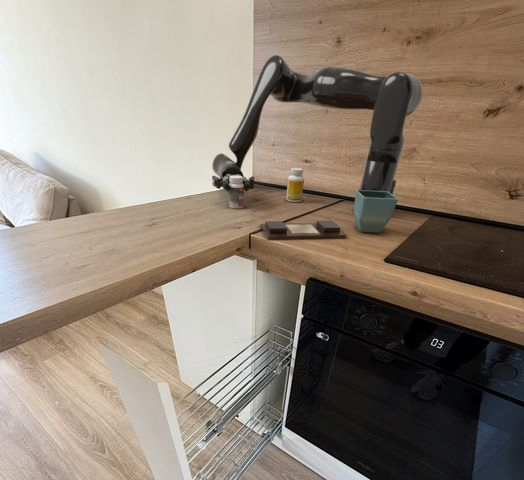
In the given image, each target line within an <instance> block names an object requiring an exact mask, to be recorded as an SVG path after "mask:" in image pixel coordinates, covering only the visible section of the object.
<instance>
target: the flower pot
mask: <svg viewBox="0 0 524 480" xmlns="http://www.w3.org/2000/svg"><path fill="white" fill-rule="evenodd" d="M354 197H355V198H354V206H353V215H354V216H353V217H354V222H355V225H356V227H357V229H358V230H359V232H361V233H375V234H379V233H380V232H381V231H382V230H384V229H385V228H386V226H387V224H388V223H389V222H390V220H391V218H392V215H393V213H394V211H395V209H396V207H397V203H398V201H399V197H396V196H395V195H394V194H393V195H392V194H391V193H390V192H385V191H366V190H359V189H356V190H355V196H354Z"/></svg>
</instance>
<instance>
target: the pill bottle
mask: <svg viewBox="0 0 524 480" xmlns="http://www.w3.org/2000/svg"><path fill="white" fill-rule="evenodd" d="M229 181H230V183H229V191H228V207H229V208H230V209H235V210H236V209H237V210H238V209H243V208H244V207H245V190H244V184H242V182H243V177H242V176H230V177H229Z"/></svg>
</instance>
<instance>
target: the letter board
mask: <svg viewBox="0 0 524 480" xmlns="http://www.w3.org/2000/svg"><path fill="white" fill-rule="evenodd" d="M260 228H261V230H262V232H263V234H264V236H265V238H267V240H315V239H317V240H318V239H319V240H321V239H346V235H347V234H346V233H344V232H343V231H341V229H342V228H341V226H339V225H338V224H337V223H336V222H335V221H334V220H316V222H295V223H294V222H291V223H284V222H283V221H282V220H266V221H265V222H264V223H260Z"/></svg>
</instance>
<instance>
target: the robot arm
mask: <svg viewBox="0 0 524 480" xmlns="http://www.w3.org/2000/svg"><path fill="white" fill-rule="evenodd" d="M270 96H271V97H272V98H273V99H274V100H275V101H277V102H279V103H301V104H307V105H311V106H312V105H313V106H317V107H322V108H328V109H333V110H345V111H346V110H349V111H350V110H355V111H356V110H369V111H372V116H371V121H370V127H369V145H368V149H367V154H366V157H365V162H364V167H363V171H362V176H361V181H360V185H359V189H358V190H366V191H385V192H390V193H391V194H392V195H394V191H395V187H396V184H397V180H395V177H396V173H397V170H398V167H399V162H400V159H401V156H402V152H403V148H404V145H405V140H406V139H405V135H404V126H405V122H406V118H407V117H408V116H409V115H411V114H412V113H414V112H415V111H416V110H417V109H418V107H419V106H420V104H421V102H422V99H423V96H424V88H423V84H422V82H421V81H420V79H419V78H418V77H417V76H416V75H415V74H412V73H408V72H405V71H395V72H392V73H390V74H389V75H387V76H381V75H374V74H371V73H368V72H364V71H361V70H357V69H353V68H347V67H342V66H324V67H322V68H319V69H318V70H316V71H315V72H313V73H312V74H306V73H305V74H304V73H299V72H296V71H295V70H293V69H292V68H291V67H290V66H289V64H288V63H287V61H286V60H284V58H283V57H282V56H280V54H279V55H278V54H273V55H272V56H270V57H269V58H268V59H267V60H266V62H264V64H263V66H262V68H261V70H260V73H259V75H258V77H257V80H256V82H255V85H254V88H253V90H252V93H251V96H250V97H249V102H248V104H247V107H246V109H245V112H244V114H243V116H242V118H241V120H240V123H239V124H238V126H237V128H236V130H235V131H234V134H233V135H232V137H231V139H230V141H229V142H228V149H229V150H230V152H232V154H233V155H234V156H235V161H234V160H233V159H231V158H230V157H229V156H227V154H225V153H221V152H220V153H218V154H216V156H215V157H214V159H213V160H212V165H211V167H212V171H213V172H214V174H216V175H217V176H216V175H212V176H211V183H212V186H213V187H214V188H216V189H218V190H220V189H223V190H225V191H226V192H229V183H230V181H229V177H230V176H242V177H243V182H242V184H244V192H249V191H250V190H254V187H255V176H249V177H248V178H247V177H246V176H244V173H243V172H242V167H243V163H244V161H245V159H246V156H247V154H248V152H249V151H250V149H251V147H252V146H253V145H254V142H255V141H256V139H257V136H258V134H259V133H258V132H259V127H260V123H261V121H260V120H261V116H262V112H263V109H264V106H265V104H266V102H267V100H268V98H269V97H270Z"/></svg>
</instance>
